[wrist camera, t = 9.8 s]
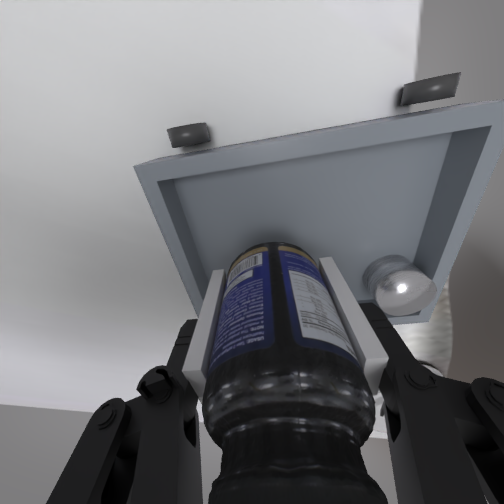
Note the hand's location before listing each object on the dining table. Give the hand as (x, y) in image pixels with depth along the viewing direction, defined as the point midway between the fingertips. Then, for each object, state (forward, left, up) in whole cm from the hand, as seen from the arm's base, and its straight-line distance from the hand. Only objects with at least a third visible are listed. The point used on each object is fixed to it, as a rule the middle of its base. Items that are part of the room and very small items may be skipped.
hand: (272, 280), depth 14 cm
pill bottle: (0, 0, -1) cm, 1 cm away
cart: (+3, 0, -5) cm, 6 cm away
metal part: (+10, -4, -4) cm, 11 cm away
